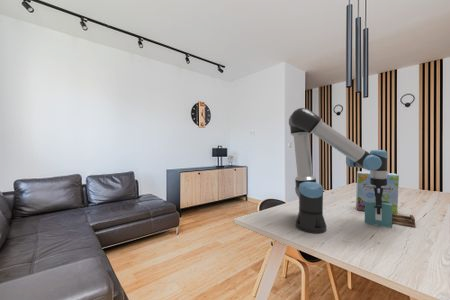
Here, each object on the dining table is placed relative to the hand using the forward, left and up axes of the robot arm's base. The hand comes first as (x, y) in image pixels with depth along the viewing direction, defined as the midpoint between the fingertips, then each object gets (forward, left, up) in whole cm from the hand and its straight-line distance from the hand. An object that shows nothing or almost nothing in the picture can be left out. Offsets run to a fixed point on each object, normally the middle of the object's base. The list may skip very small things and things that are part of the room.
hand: (378, 216), depth 114 cm
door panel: (-1, 0, -4) cm, 4 cm away
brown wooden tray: (+10, -7, -4) cm, 13 cm away
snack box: (+25, +1, -4) cm, 26 cm away
